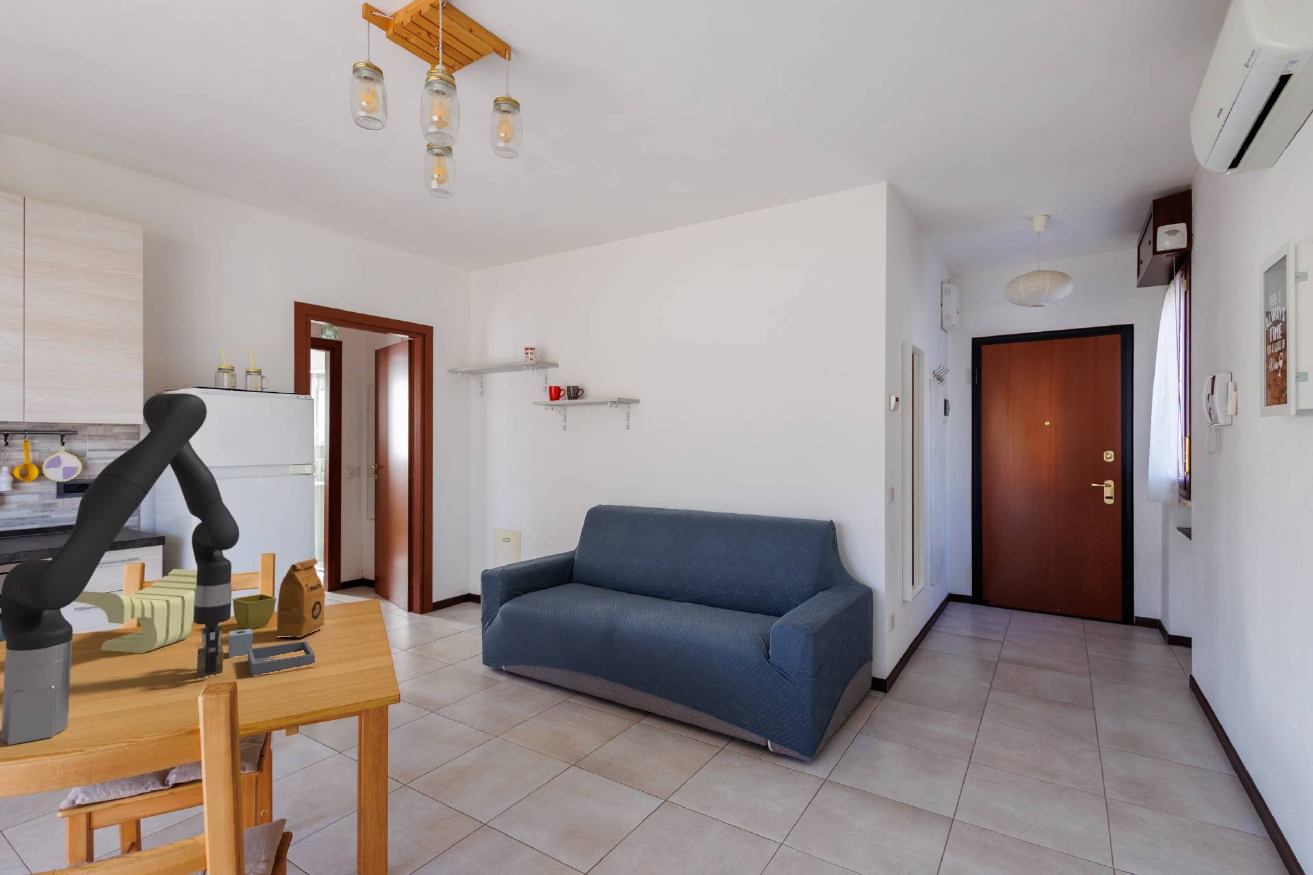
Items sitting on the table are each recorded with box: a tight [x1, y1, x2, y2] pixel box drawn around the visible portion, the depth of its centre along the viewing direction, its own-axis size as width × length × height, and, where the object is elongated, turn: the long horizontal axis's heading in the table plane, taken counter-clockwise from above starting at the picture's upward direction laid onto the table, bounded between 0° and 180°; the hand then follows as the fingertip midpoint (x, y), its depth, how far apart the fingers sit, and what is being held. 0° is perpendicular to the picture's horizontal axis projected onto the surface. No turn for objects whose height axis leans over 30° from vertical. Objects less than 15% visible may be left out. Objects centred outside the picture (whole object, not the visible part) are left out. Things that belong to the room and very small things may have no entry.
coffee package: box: [276, 558, 326, 638], centre depth 188 cm, size 10×12×22 cm
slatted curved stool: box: [72, 568, 197, 654], centre depth 174 cm, size 30×16×18 cm, turn 173°
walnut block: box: [196, 645, 224, 679], centre depth 154 cm, size 5×5×6 cm
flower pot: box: [232, 593, 277, 629], centre depth 193 cm, size 9×9×9 cm
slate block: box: [227, 628, 254, 659], centre depth 169 cm, size 5×5×6 cm
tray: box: [246, 640, 316, 676], centre depth 162 cm, size 14×14×3 cm
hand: (209, 667), depth 154 cm, fingers open, 8 cm apart
